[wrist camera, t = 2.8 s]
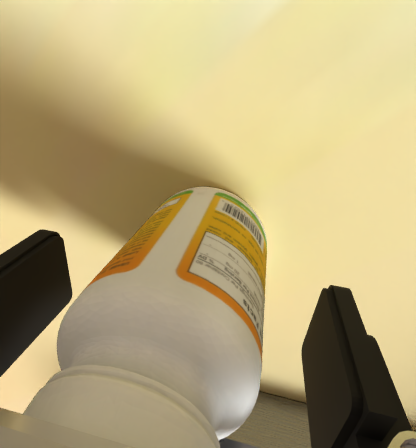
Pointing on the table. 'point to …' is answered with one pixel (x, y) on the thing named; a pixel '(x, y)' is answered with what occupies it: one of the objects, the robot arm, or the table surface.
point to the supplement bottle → (167, 330)
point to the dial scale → (272, 425)
